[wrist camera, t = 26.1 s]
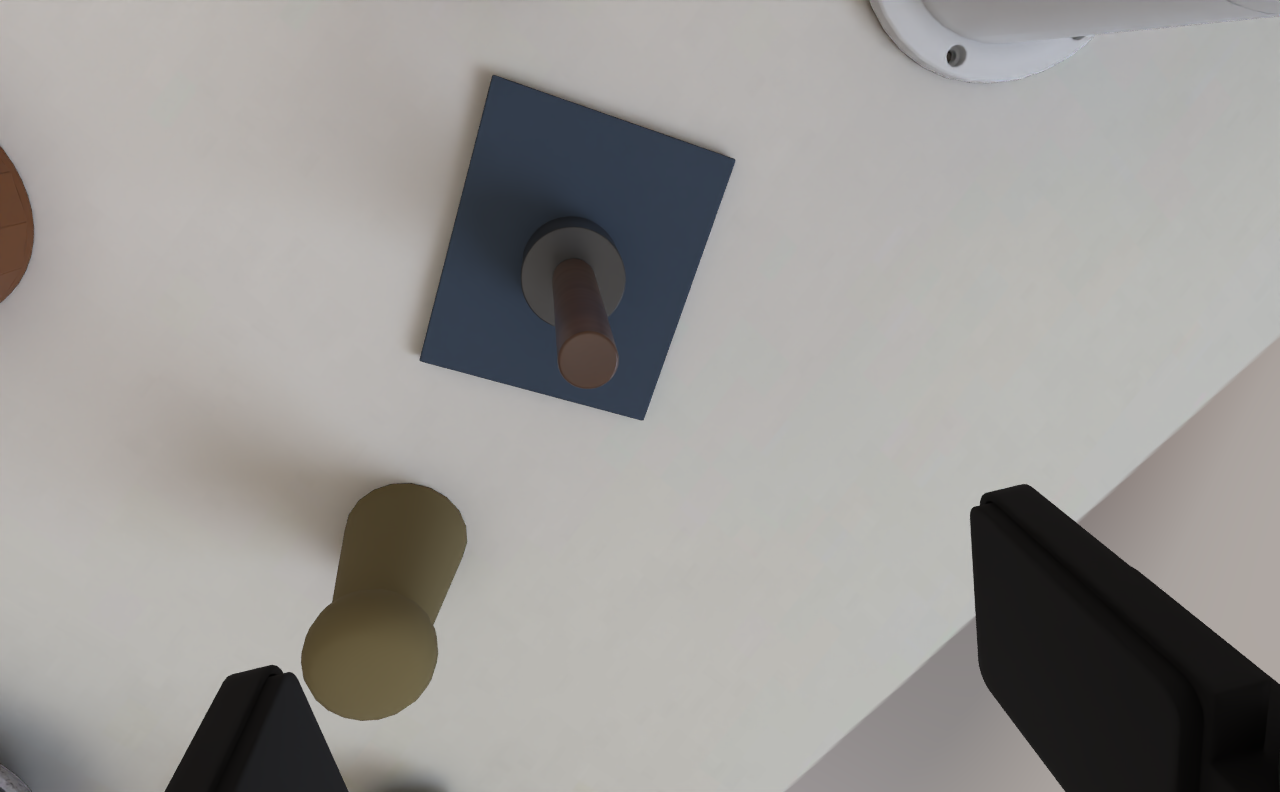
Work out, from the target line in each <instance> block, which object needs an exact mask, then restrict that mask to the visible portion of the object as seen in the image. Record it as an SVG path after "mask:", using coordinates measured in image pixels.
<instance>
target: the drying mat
mask: <svg viewBox="0 0 1280 792" xmlns="http://www.w3.org/2000/svg"><path fill="white" fill-rule="evenodd" d="M734 163H735V159H733V158H730V157H727V156H724V155H722V154H719V153H716V152H713V151H710V150H707V149H704V148H702V147H699V146H696V145H693V144H690V143H687V142H684V141H682V140H679V139H676V138H673V137H670V136H667V135H664V134H661V133H659V132H656V131H653V130H650V129H647V128H644V127H641V126H639V125H636V124H633V123H630V122H627V121H624V120H621V119H619V118H616V117H613V116H610V115H607V114H604V113H601V112H599V111H596V110H593V109H590V108H587V107H584V106H581V105H579V104H576V103H573V102H570V101H567V100H564V99H561V98H559V97H556V96H553V95H550V94H547V93H544V92H541V91H539V90H536V89H533V88H530V87H527V86H524V85H521V84H519V83H516V82H513V81H510V80H507V79H504V78H501V77H498V76H496V75H493V76H492V79H491V83H490V87H489V91H488V95H487V98H486V102H485V106H484V110H483V114H482V118H481V122H480V126H479V130H478V134H477V138H476V141H475V145H474V149H473V153H472V157H471V161H470V165H469V169H468V173H467V177H466V181H465V184H464V188H463V192H462V196H461V200H460V204H459V208H458V212H457V216H456V220H455V224H454V227H453V231H452V235H451V239H450V243H449V247H448V251H447V255H446V259H445V263H444V266H443V270H442V274H441V278H440V282H439V286H438V290H437V294H436V298H435V302H434V306H433V309H432V313H431V317H430V321H429V325H428V329H427V333H426V337H425V341H424V345H423V349H422V352H421V356H420V361H422V362H425V363H429V364H433V365H437V366H440V367H444V368H448V369H451V370H455V371H459V372H463V373H466V374H470V375H474V376H478V377H481V378H485V379H489V380H493V381H496V382H500V383H504V384H507V385H511V386H515V387H519V388H522V389H526V390H530V391H534V392H537V393H541V394H545V395H549V396H552V397H556V398H560V399H563V400H567V401H571V402H575V403H578V404H582V405H586V406H590V407H593V408H597V409H601V410H605V411H608V412H612V413H616V414H619V415H623V416H627V417H631V418H634V419H638V420H644V417H645V414H646V412H647V409H648V406H649V403H650V400H651V398H652V395H653V392H654V389H655V386H656V383H657V381H658V378H659V375H660V372H661V369H662V367H663V364H664V361H665V358H666V355H667V352H668V350H669V347H670V344H671V341H672V338H673V335H674V333H675V330H676V327H677V324H678V321H679V319H680V316H681V313H682V310H683V307H684V304H685V302H686V299H687V296H688V293H689V290H690V288H691V285H692V282H693V279H694V276H695V273H696V271H697V268H698V265H699V262H700V259H701V257H702V254H703V251H704V248H705V245H706V242H707V240H708V237H709V234H710V231H711V228H712V226H713V223H714V220H715V217H716V214H717V211H718V209H719V206H720V203H721V200H722V197H723V195H724V192H725V189H726V186H727V183H728V180H729V178H730V175H731V172H732V169H733V166H734ZM568 216H574V217H581V218H585V219H588V220H590V221H592V222H594V223H596V224H598V225H599V226H600V227H602V228H603V229H604V230H605V231H606V232H607V233H608V234H609V236H610V237H611V238H612V240H613V242H614V243H615V245H616V247H617V249H618V251H619V253H620V256H621V258H622V260H623V263H624V267H625V273H626V284H625V290H624V294H623V297H622V299H621V301H620V303H619V305H618V307H617V308H616V309H615V311H614V312H613V313H612V314H611V315H610V316H609V317H608V321H609V324H610V328H611V331H612V334H613V338H614V341H615V345H616V348H617V351H618V356H619V363H618V368H617V370H616V372H615V374H614V376H613V377H612V378H611V379H610V380H609V381H608V382H607V383H606V384H604V385H602V386H600V387H597V388H593V389H582V388H578V387H575V386H573V385H571V384H570V383H568V382H567V381H566V380H565V379H564V378H563V376H562V375H561V373H560V371H559V368H558V362H557V347H556V332H555V327H554V326H552V325H550V324H548V323H546V322H544V321H543V320H542V319H540V318H539V317H538V316H537V315H536V314H535V313H534V312H533V311H532V310H531V308H530V307H529V305H528V304H527V302H526V300H525V298H524V295H523V292H522V287H521V267H522V258H523V253H524V249H525V247H526V244H527V242H528V240H529V239H530V237H531V236H532V235H533V233H534V232H535V231H536V230H537V229H538V228H540V227H541V226H542V225H544V224H545V223H547V222H549V221H551V220H553V219H556V218H560V217H568Z"/></svg>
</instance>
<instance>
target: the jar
mask: <svg viewBox="0 0 1280 792" xmlns="http://www.w3.org/2000/svg"><path fill="white" fill-rule="evenodd" d="M33 238H34V225H33V217H32V210H31V206H30V202H29V199H28V195H27V192H26V190H25V187H24V185H23V183H22V180H21V178H20V176H19V174H18V172H17V171H16V169H15V167H14V165H13V163H12V162H11V160H10V159H9V158H8V156H7V155H6V153H5V152H4V150H3V149H2V148H1V147H0V302H2V301H3V300H4V299H5V298H6V297H7V296H8V295H9V294H10V293H11V292H12V291H13V290H14V288H15V287H16V286H17V285H18V283H19V282H20V280H21V278H22V277H23V275H24V273H25V271H26V269H27V266H28V263H29V260H30V257H31V253H32V247H33Z"/></svg>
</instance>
